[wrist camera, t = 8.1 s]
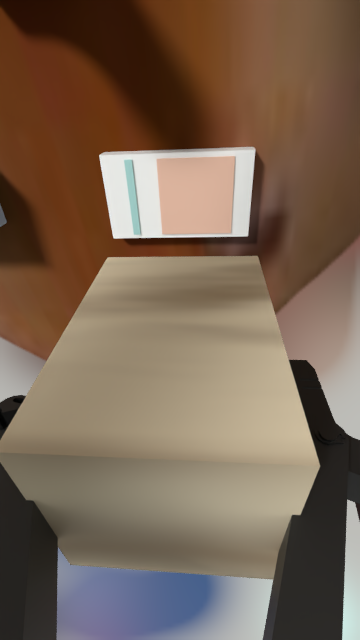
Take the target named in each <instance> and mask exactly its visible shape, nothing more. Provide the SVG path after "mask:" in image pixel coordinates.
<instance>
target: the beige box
mask: <svg viewBox="0 0 360 640" xmlns="http://www.w3.org/2000/svg"><path fill="white" fill-rule="evenodd" d="M0 463H1V464H2V466H3V467H4V468H5V470H6V471H7V473H8V474H9V476H10V477H11V479H12V480H13V482H14V483H15V484H16V486H17V487H18V489H19V490H20V492H21V493H22V495H23V496H24V498H25V499H26V500H32V501H34V502H35V504H36V505H37V507H38V508H39V510H40V511H41V513H42V514H43V516H44V518H45V519H46V521H47V522H48V524H49V525H50V527H51V528H52V530H53V531H54V533H55V534H56V536H57V537H58V547H59V549H60V550H61V552H62V553H63V554H64V556H65V557H66V559H67V560H68V562H69V563H70V565H79V566H94V567H107V568H121V569H135V570H149V571H163V572H178V573H191V574H205V575H219V576H234V577H247V578H261V579H274V574H275V568H276V563H277V557H278V552H279V549H280V546H281V543H282V541H283V538H284V535H285V532H286V530H287V527H288V524H289V522H290V519H291V516H292V515H301V513H302V510H303V508H304V505H305V503H306V500H307V498H308V495H309V493H310V490H311V488H312V485H313V483H314V480H315V478H316V475H317V473H318V470H319V468H320V464H319V460H318V457H317V454H316V450H315V447H314V444H313V440H312V437H311V434H310V430H309V427H308V423H307V420H306V417H305V413H304V410H303V407H302V403H301V400H300V397H299V393H298V390H297V386H296V383H295V380H294V376H293V373H292V370H291V366H290V363H289V360H288V357H287V353H286V350H285V346H284V343H283V339H282V336H281V333H280V329H279V326H278V323H277V320H276V316H275V313H274V309H273V306H272V302H271V299H270V296H269V292H268V289H267V286H266V282H265V279H264V276H263V272H262V269H261V265H260V262H259V259H258V256H207V257H108V258H107V259H106V261H105V263H104V264H103V266H102V268H101V270H100V271H99V273H98V275H97V276H96V278H95V280H94V281H93V283H92V285H91V287H90V288H89V290H88V292H87V293H86V295H85V297H84V298H83V300H82V302H81V304H80V305H79V307H78V309H77V310H76V312H75V314H74V316H73V317H72V319H71V321H70V322H69V324H68V326H67V327H66V329H65V331H64V333H63V334H62V336H61V338H60V339H59V341H58V343H57V344H56V346H55V348H54V350H53V351H52V353H51V355H50V356H49V358H48V360H47V361H46V363H45V365H44V367H43V368H42V370H41V372H40V374H39V375H38V377H37V378H36V380H35V382H34V384H33V385H32V387H31V389H30V391H29V392H28V394H27V396H26V397H25V399H24V401H23V402H22V404H21V406H20V407H19V409H18V411H17V413H16V414H15V416H14V418H13V419H12V421H11V423H10V424H9V426H8V428H7V430H6V431H5V433H4V435H3V436H2V438H1V440H0Z"/></svg>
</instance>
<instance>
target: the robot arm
mask: <svg viewBox="0 0 360 640" xmlns="http://www.w3.org/2000/svg"><path fill="white" fill-rule="evenodd" d="M289 363H290V366H291V370H292V373H293V376H294V380H295V383H296V386H297V390H298V393H299V397H300V400H301V403H302V407H303V410H304V413H305V417H306V420H307V423H308V427H309V430H310V434H311V437H312V440H313V444H314V447H315V450H316V454H317V457H318V460H319V464H320V468H319V470H318V473H317V475H316V478H315V480H314V483H313V485H312V488H311V490H310V493H309V495H308V498H307V500H306V503H305V505H304V508H303V510H302V513H301V515H292V516H291V519H290V522H289V524H288V527H287V530H286V532H285V535H284V538H283V541H282V543H281V546H280V549H279V552H278V557H277V563H276V568H275V574H274V580H273V585H272V591H271V596H270V603H269V608H268V614H267V619H266V625H265V630H264V636H263V640H342V625H343V624H342V623H343V598H344V597H343V596H344V571H345V543H346V516H347V499H348V500H350V501H353V502H355V504H356V508H357V512H358V516H359V520H360V440H358V439H355V438H352V437H351V436H349V435H347V434H346V433H345V431H344V430H343V429H342V428H341V427H340V426H339V425H337V424H336V423H335V421H334V419H333V416H332V413H331V411H330V408H329V406H328V403H327V400H326V398H325V395H324V392H323V390H322V389H321V385H320V382H319V381H318V377H317V374H316V372H315V369H314V368H313V367H312V366H311V365H310V364H309V363H308V362H307V361H306V360H289ZM25 397H26V396H23V395H18V396H13V397H10V398H7V399H5V400H4V401H2V402H1V403H0V440H1V438H2V436H3V435H4V433H5V431H6V430H7V428H8V426H9V424H10V423H11V421H12V419H13V418H14V416H15V414H16V413H17V411H18V409H19V407H20V406H21V404H22V402H23V401H24V399H25ZM57 558H58V537H57V536H56V534H55V533H54V531H53V530H52V528H51V527H50V525H49V524H48V522H47V521H46V519H45V518H44V516H43V514H42V513H41V511H40V510H39V508H38V507H37V505H36V504H35V502H34V501H32V500H26V499H25V498H24V496H23V495H22V493H21V492H20V490H19V489H18V487H17V486H16V484H15V483H14V482H13V480H12V479H11V477H10V476H9V474H8V473H7V471H6V470H5V468H4V467H3V466H2V464H1V463H0V640H56V633H57V629H56V628H57V561H58V559H57Z"/></svg>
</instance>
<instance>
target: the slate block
mask: <svg viewBox="0 0 360 640" xmlns="http://www.w3.org/2000/svg"><path fill="white" fill-rule="evenodd" d="M6 223H7V221H6V219H5V216H4V213H3V210H2V207H1V205H0V227H1V226H3V225H4V224H6Z"/></svg>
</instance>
